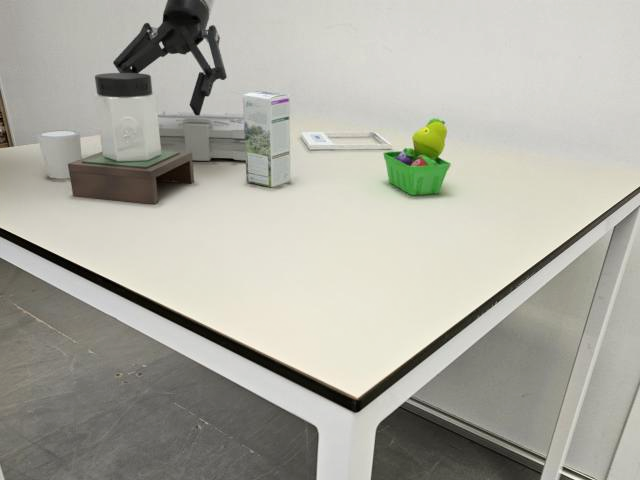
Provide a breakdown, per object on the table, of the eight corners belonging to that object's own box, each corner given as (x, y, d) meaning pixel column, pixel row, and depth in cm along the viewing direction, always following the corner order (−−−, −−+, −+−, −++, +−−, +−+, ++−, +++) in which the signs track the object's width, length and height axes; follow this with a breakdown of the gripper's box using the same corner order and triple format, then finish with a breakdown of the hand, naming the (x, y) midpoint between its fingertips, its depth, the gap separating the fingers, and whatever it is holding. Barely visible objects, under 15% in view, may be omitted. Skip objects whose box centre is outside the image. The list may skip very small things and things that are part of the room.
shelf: (73, 195, 94) (67, 162, 92) (121, 175, 106) (116, 144, 104) (154, 204, 91) (150, 170, 89) (194, 181, 103) (192, 151, 101)
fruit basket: (379, 181, 107) (383, 114, 101) (423, 178, 109) (430, 113, 104) (407, 198, 97) (414, 126, 92) (455, 195, 100) (464, 124, 95)
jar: (102, 163, 92) (89, 78, 86) (104, 151, 99) (92, 72, 93) (162, 160, 94) (154, 78, 88) (160, 150, 101) (152, 72, 95)
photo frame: (300, 131, 140) (375, 130, 143) (300, 136, 141) (375, 135, 144) (309, 144, 127) (392, 143, 130) (309, 149, 128) (391, 148, 131)
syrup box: (291, 181, 105) (291, 93, 98) (271, 188, 101) (269, 96, 94) (266, 176, 108) (264, 89, 101) (244, 183, 103) (241, 93, 97)
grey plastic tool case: (141, 140, 133) (137, 103, 129) (268, 144, 133) (267, 107, 129) (112, 160, 116) (107, 118, 112) (257, 164, 116) (256, 122, 112)
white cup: (79, 168, 110) (73, 128, 106) (91, 176, 105) (85, 134, 102) (39, 172, 106) (31, 131, 103) (50, 181, 101) (42, 138, 98)
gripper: (260, 25, 108) (233, 126, 102) (135, 21, 113) (102, 117, 108) (249, -9, 101) (218, 97, 95) (116, -12, 106) (79, 88, 101)
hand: (157, 108), depth 101 cm, fingers open, 13 cm apart
